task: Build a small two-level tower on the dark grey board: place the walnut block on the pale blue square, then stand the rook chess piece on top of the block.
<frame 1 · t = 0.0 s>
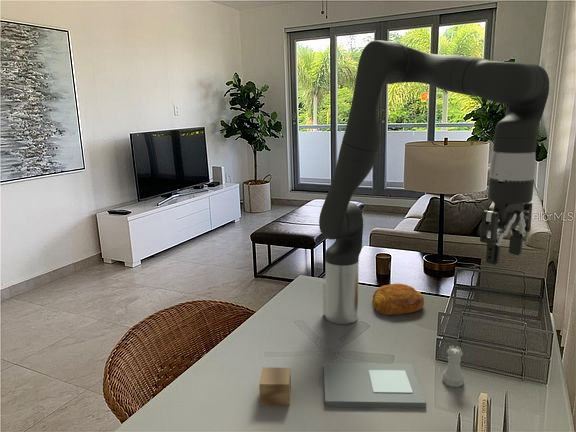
hand: (503, 258, 87), 29 cm above the table, tool pointing down, fingers open, 8 cm apart
rook chess piece: (452, 382, 98), on the table
croissant: (396, 307, 136), on the table
walnut block: (275, 396, 94), on the table
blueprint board: (370, 386, 97), on the table
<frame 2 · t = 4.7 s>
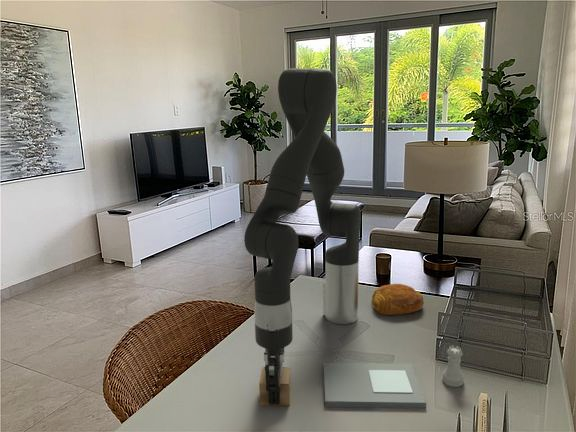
hand: (275, 393, 94), 1 cm above the table, tool pointing down, fingers closed on walnut block, 6 cm apart
walnut block: (275, 396, 94), on the table, touching gripper
everything else where it was.
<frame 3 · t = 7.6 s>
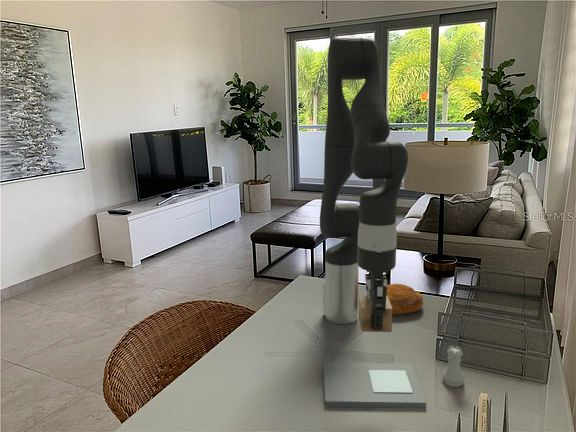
hand: (374, 321, 93), 15 cm above the table, tool pointing down, fingers closed on walnut block, 6 cm apart
walnut block: (374, 324, 93), point 15 cm above the table, touching gripper
everything else where it was.
when the fingers open (3 cm above the table, at t = 10.8 s): walnut block drops 1 cm, resting on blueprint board.
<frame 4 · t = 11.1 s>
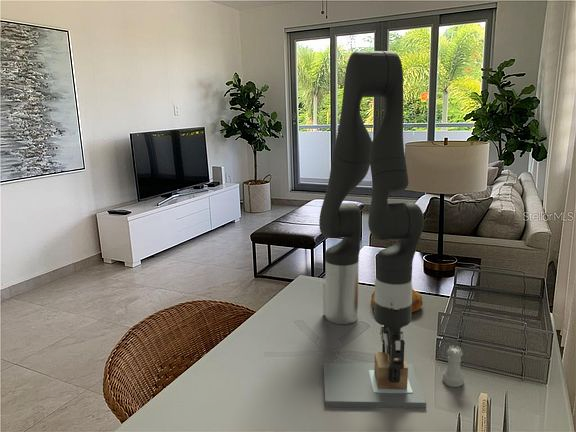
hand: (390, 369, 96), 4 cm above the table, tool pointing down, fingers open, 8 cm apart
walnut block: (390, 380, 96), point 1 cm above the table, touching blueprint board
everything else where it was.
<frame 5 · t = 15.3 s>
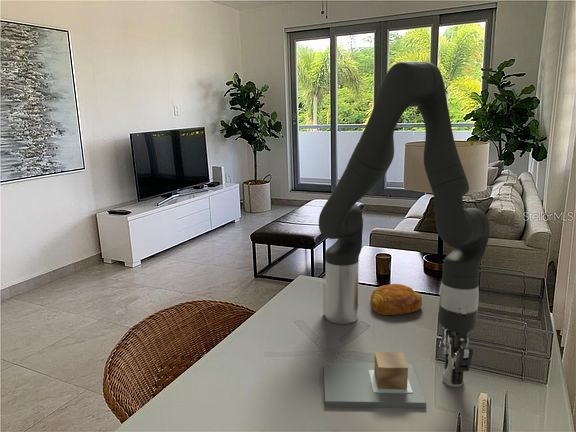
hand: (453, 376, 97), 1 cm above the table, tool pointing down, fingers closed on rook chess piece, 4 cm apart
rook chess piece: (452, 382, 98), on the table, touching gripper
everything else where it was.
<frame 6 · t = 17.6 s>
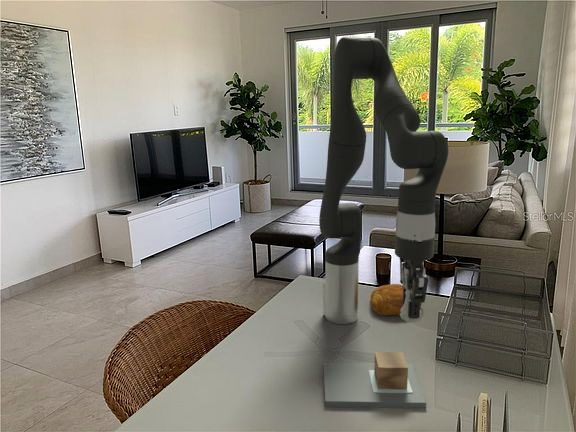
hand: (410, 311, 93), 17 cm above the table, tool pointing down, fingers closed on rook chess piece, 4 cm apart
rook chess piece: (410, 318, 94), point 15 cm above the table, touching gripper
everything else where it was.
when the fingers open (9 cm above the table, at t = 20.3 s): rook chess piece stays where it is, resting on walnut block.
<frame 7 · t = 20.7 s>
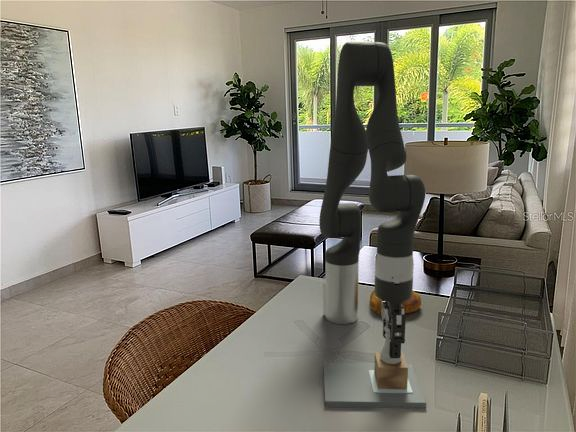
hand: (391, 347, 94), 9 cm above the table, tool pointing down, fingers open, 7 cm apart
rook chess piece: (390, 360, 95), point 6 cm above the table, touching walnut block
walnut block: (390, 380, 96), point 1 cm above the table, touching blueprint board, rook chess piece
everything else where it was.
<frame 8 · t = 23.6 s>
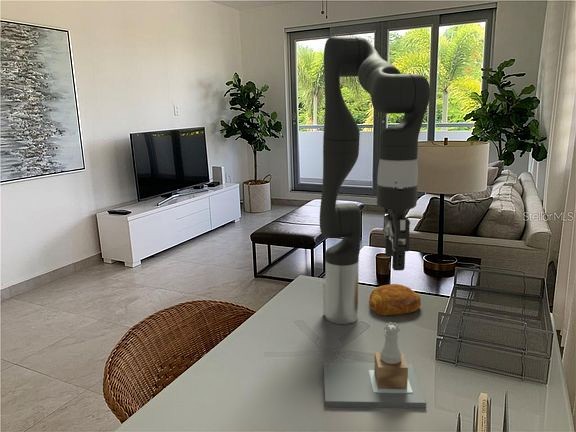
hand: (394, 262, 90), 28 cm above the table, tool pointing down, fingers open, 8 cm apart
at the end: walnut block 0.0 cm from the target spot, point 1.4 cm above the table; rook chess piece 0.1 cm off-centre on the walnut block, point 4.8 cm above the walnut block's base; rook chess piece tilted 0° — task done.
